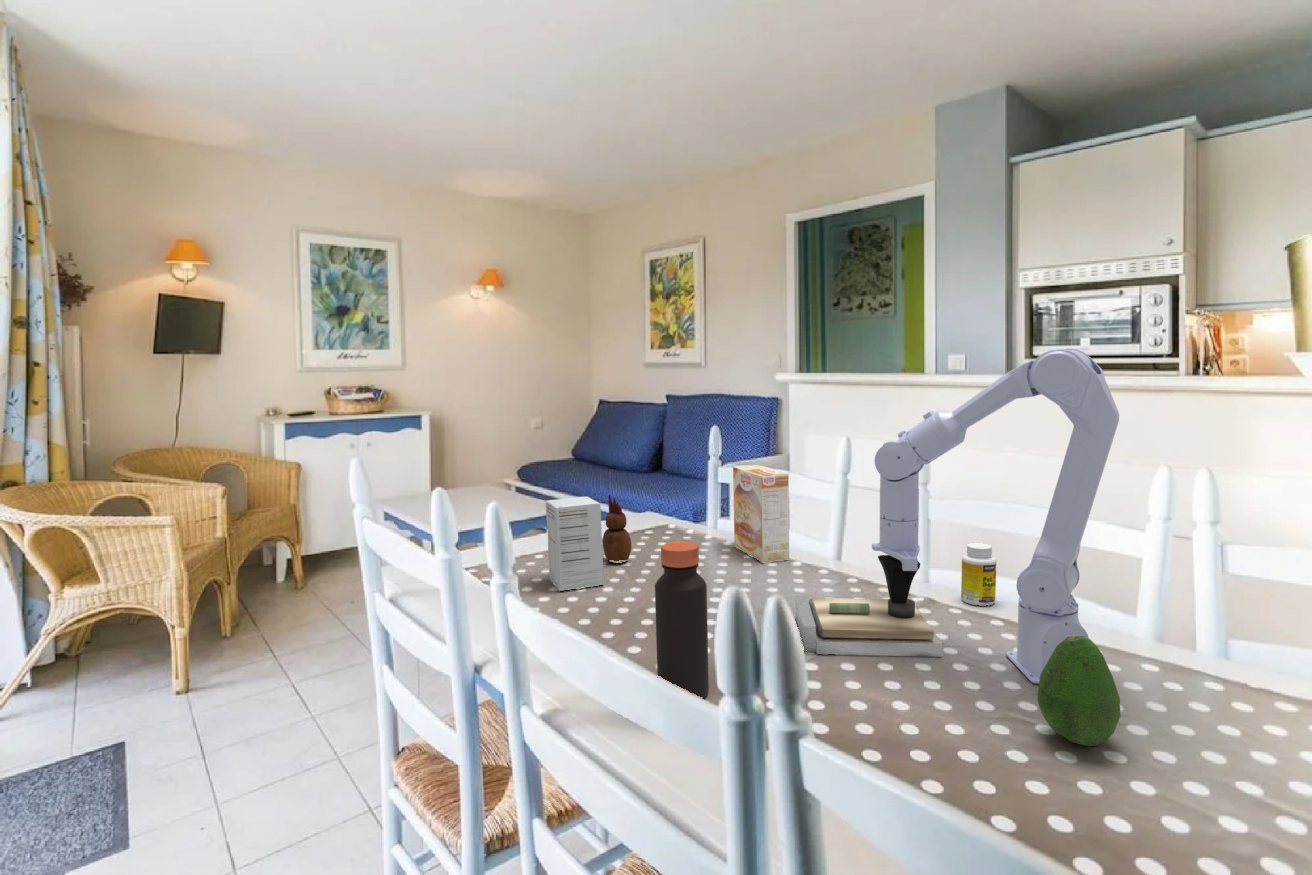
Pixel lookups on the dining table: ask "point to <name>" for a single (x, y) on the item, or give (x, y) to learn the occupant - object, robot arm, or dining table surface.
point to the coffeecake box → (761, 512)
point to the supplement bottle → (978, 575)
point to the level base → (858, 640)
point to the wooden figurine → (616, 534)
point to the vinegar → (682, 619)
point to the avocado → (1079, 693)
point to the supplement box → (574, 542)
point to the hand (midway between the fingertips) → (898, 602)
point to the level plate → (869, 619)
